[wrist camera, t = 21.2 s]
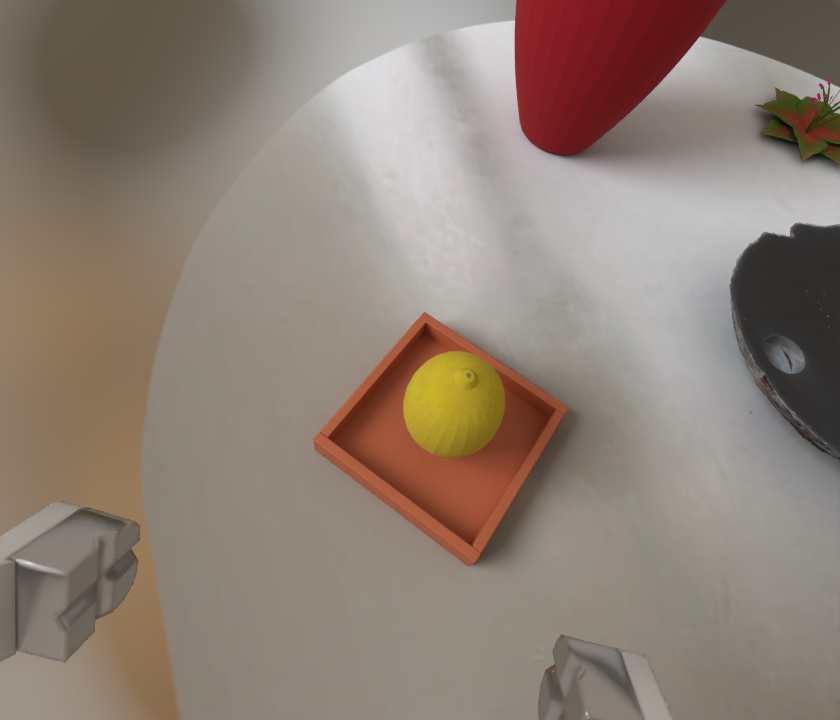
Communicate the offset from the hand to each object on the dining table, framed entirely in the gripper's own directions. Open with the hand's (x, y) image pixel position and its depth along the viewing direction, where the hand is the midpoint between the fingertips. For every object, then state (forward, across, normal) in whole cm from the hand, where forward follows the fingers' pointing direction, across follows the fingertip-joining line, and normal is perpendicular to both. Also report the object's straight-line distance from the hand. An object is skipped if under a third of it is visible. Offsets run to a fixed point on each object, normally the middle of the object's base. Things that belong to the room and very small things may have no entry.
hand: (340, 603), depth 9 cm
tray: (+22, -2, +6) cm, 22 cm away
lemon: (+21, -2, +5) cm, 22 cm away
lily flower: (+52, -32, -24) cm, 65 cm away
